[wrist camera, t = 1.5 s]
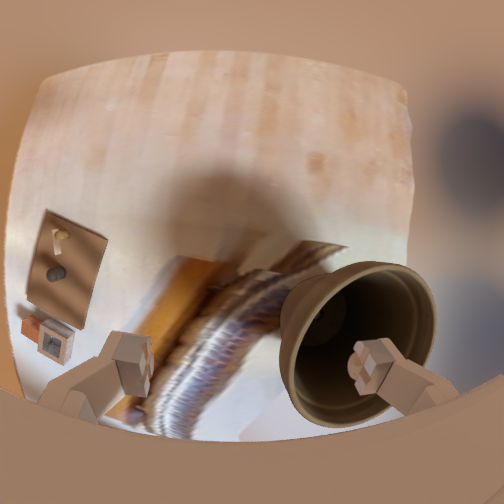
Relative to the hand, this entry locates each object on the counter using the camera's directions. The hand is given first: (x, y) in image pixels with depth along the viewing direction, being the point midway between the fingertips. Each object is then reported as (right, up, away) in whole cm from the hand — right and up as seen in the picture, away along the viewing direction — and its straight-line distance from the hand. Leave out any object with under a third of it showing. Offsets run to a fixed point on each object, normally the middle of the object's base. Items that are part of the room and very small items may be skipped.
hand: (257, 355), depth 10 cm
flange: (-41, -13, +32) cm, 53 cm away
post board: (-35, 0, +32) cm, 48 cm away
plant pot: (+12, -8, +42) cm, 45 cm away
